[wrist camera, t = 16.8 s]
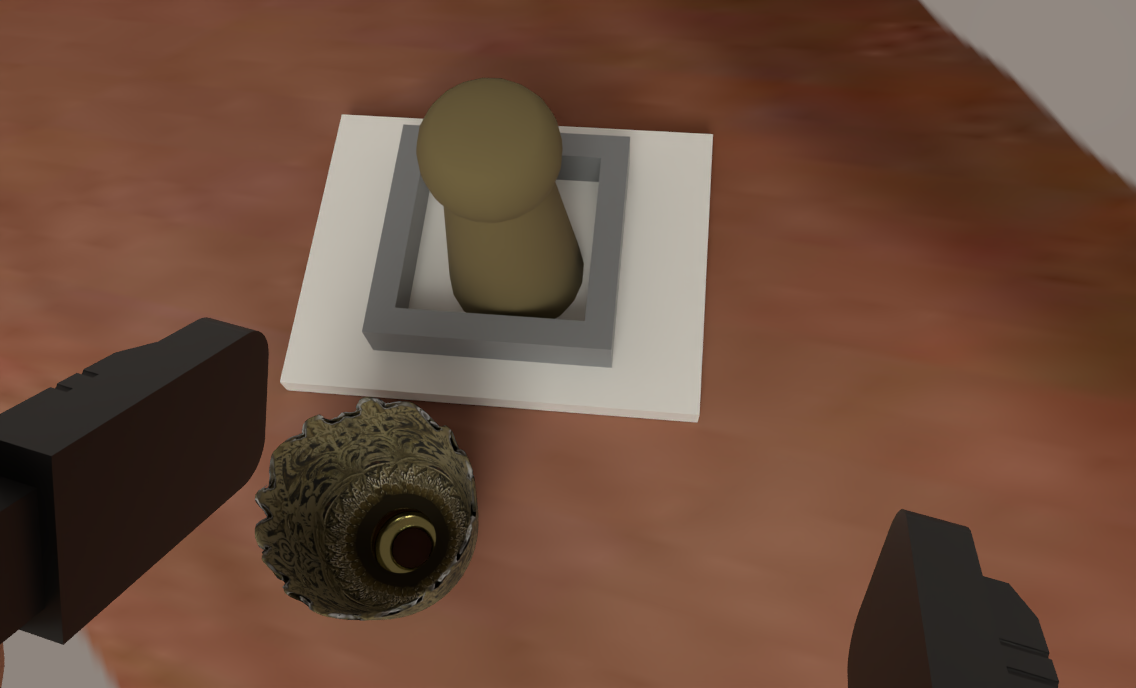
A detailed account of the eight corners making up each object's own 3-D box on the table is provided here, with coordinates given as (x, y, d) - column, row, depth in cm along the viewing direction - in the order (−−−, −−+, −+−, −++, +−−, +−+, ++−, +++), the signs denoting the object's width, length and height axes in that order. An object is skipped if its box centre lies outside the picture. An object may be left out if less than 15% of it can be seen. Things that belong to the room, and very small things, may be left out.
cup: (345, 669, 37) (276, 651, 29) (304, 494, 40) (232, 438, 32) (526, 604, 37) (503, 572, 30) (473, 437, 40) (440, 369, 33)
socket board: (710, 146, 45) (717, 107, 43) (697, 422, 40) (703, 398, 37) (347, 126, 47) (330, 88, 44) (287, 390, 41) (263, 365, 39)
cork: (431, 240, 43) (372, 85, 33) (553, 193, 44) (532, 27, 33) (476, 352, 41) (428, 223, 30) (605, 301, 41) (599, 157, 31)
